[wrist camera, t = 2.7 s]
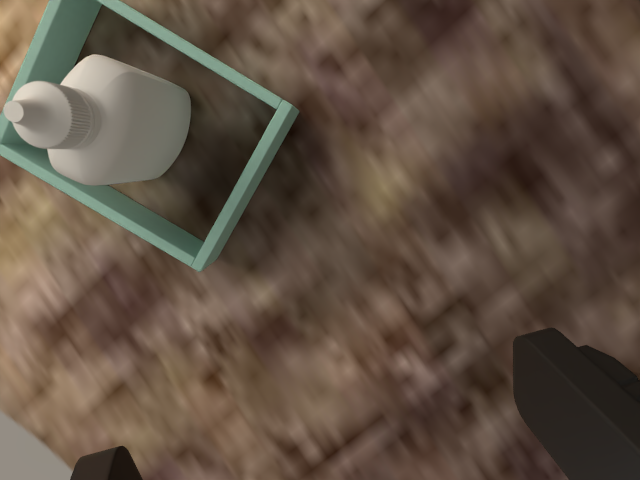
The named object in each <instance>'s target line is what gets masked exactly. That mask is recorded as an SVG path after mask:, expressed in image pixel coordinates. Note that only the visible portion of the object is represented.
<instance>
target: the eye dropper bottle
mask: <svg viewBox="0 0 640 480" xmlns="http://www.w3.org/2000/svg"><path fill="white" fill-rule="evenodd" d="M4 115H5V117H6V118H7V119H8V120H9V121H11V122H12V123H13V126H14V128H15V130H16V132H17V133H18V134H19V136H20V137H21V138H23V140H24V141H26V142H27V143H29V144H30V145H32V146H35V147H38V148H42V149H47V150H48V155H49V159H50V163H51V165H52V167H53V168H54V169H55V170H56V171H57V172H58V173H60V174H62V175H63V176H66V177H68V178H70V179H72V180H74V181H76V182H79V183H82V184H84V185H92V186H98V185H110V184H119V183H128V182H136V181H144V180H152V179H156V178H158V177H160V176H161V175H162V174H164V173H165V172H166V171H167V170H168V168H169V167H170V166H171V165H172V164H173V162H174V161H175V160H176V158H177V157H178V155H179V153H180V152H181V150H182V148H183V145H184V143H185V140H186V137H187V134H188V130H189V125H190V118H191V100H190V96H189V94H188V92H187V91H186V90H185V89H184V88H182V87H180V86H178V85H176V84H174V83H171V82H169V81H167V80H165V79H163V78H160V77H158V76H155V75H153V74H150V73H148V72H145V71H143V70H140V69H138V68H135V67H132V66H130V65H127V64H125V63H122V62H120V61H117V60H114V59H112V58H109V57H106V56H103V55H95V54H93V55H90V56H88V57H86V58H84V59H83V60H82V61H80V62H79V63H78V64H77V65H76V66H75V67H74V68H73V69H72V70H71V71H70V72H69V73H68V74H67V76H66V77H65V78H64V80H63V81H62V82H61V84H60V85H59V84H55V83H51V82H47V81H34V82H32V81H31V82H30V83H27V84H25V85H24V86H22V87H21V88H20V89H19V90H18V91H17V92H16V93H15V95H14V97H13V99H12V101H9V102H7V103H6V104H5V106H4Z"/></svg>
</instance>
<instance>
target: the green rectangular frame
mask: <svg viewBox="0 0 640 480" xmlns="http://www.w3.org/2000/svg"><path fill="white" fill-rule="evenodd" d="M102 4H103V5H104V6H106V7H108V8H109V9H111V10H113V11H114V12H116V13H118V14H119V15H121V16H123V17H124V18H126V19H128V20H129V21H131V22H132V23H134V24H136V25H137V26H139V27H141V28H142V29H144V30H146V31H147V32H149V33H151V34H152V35H154V36H156V37H157V38H159V39H161V40H162V41H164V42H166V43H167V44H169V45H171V46H172V47H174V48H176V49H177V50H179V51H180V52H182V53H184V54H185V55H187V56H189V57H190V58H192V59H194V60H195V61H197V62H199V63H200V64H202V65H204V66H205V67H207V68H209V69H210V70H212V71H214V72H215V73H217V74H219V75H220V76H222V77H224V78H225V79H227V80H229V81H230V82H232V83H233V84H235V85H237V86H238V87H240V88H242V89H243V90H245V91H247V92H248V93H250V94H252V95H253V96H255V97H257V98H258V99H260V100H262V101H263V102H265V103H267V104H268V105H270V106H272V107H273V108H275V109H277V111H276V113H275V114H274V116H273V118H272V120H271V122H270V123H269V125H268V127H267V129H266V131H265V133H264V134H263V136H262V138H261V140H260V142H259V143H258V145H257V147H256V149H255V151H254V153H253V154H252V156H251V158H250V160H249V162H248V164H247V165H246V167H245V169H244V171H243V173H242V174H241V176H240V178H239V180H238V182H237V184H236V185H235V187H234V189H233V191H232V193H231V195H230V196H229V198H228V200H227V202H226V204H225V205H224V207H223V209H222V211H221V213H220V215H219V216H218V218H217V220H216V222H215V224H214V225H213V227H212V229H211V231H210V233H209V235H208V236H207V238H206V240H205V242H203V241H202V240H200V239H198V238H196V237H195V236H193V235H191V234H190V233H188V232H186V231H185V230H183V229H181V228H180V227H178V226H176V225H174V224H173V223H171V222H169V221H168V220H166V219H164V218H163V217H161V216H159V215H157V214H156V213H154V212H152V211H151V210H149V209H147V208H146V207H144V206H142V205H141V204H139V203H137V202H135V201H134V200H132V199H130V198H129V197H127V196H125V195H124V194H122V193H120V192H118V191H117V190H115V189H113V188H112V187H110V186H108V185H98V186H92V185H84V184H82V183H79V182H76V181H74V180H72V179H70V178H68V177H66V176H63V175H62V174H60V173H58V172H57V171H56V170H55V169H54V168H53V167H52V165H51V163H50V159H49V155H48V150H47V149H42V148H38V147H35V146H32V145H30V144H29V143H27V142H26V141H24V140H23V138H21V137H20V136H19V134H18V133H17V132H16V130H15V128H14V126H13V123H12V122H11V121H9V120H8V119H7V118H6V117H5V115H4V108H3V111H2V113H1V115H0V155H1V156H3V157H4V158H6V159H8V160H10V161H11V162H13V163H15V164H16V165H18V166H20V167H21V168H23V169H25V170H27V171H28V172H30V173H32V174H33V175H35V176H37V177H38V178H40V179H42V180H44V181H45V182H47V183H49V184H50V185H52V186H54V187H56V188H57V189H59V190H61V191H62V192H64V193H66V194H67V195H69V196H71V197H73V198H74V199H76V200H78V201H79V202H81V203H83V204H84V205H86V206H88V207H90V208H91V209H93V210H95V211H96V212H98V213H100V214H102V215H103V216H105V217H107V218H108V219H110V220H112V221H113V222H115V223H117V224H119V225H120V226H122V227H124V228H125V229H127V230H129V231H130V232H132V233H134V234H136V235H137V236H139V237H141V238H142V239H144V240H146V241H148V242H149V243H151V244H153V245H154V246H156V247H158V248H159V249H161V250H163V251H165V252H166V253H168V254H170V255H171V256H173V257H175V258H176V259H178V260H180V261H182V262H183V263H185V264H187V265H188V266H191V267H192V268H193V269H195V270H197V271H198V272H201V271H202V270H204V269H205V268H206V267H207V266H209V265H210V264H211V263H213V262H214V261H215V260H217V258H218V256H219V255H220V253H221V251H222V249H223V247H224V246H225V244H226V242H227V240H228V238H229V237H230V235H231V233H232V231H233V230H234V228H235V226H236V224H237V222H238V221H239V219H240V217H241V215H242V213H243V212H244V210H245V208H246V206H247V205H248V203H249V201H250V199H251V197H252V196H253V194H254V192H255V190H256V188H257V187H258V185H259V183H260V181H261V179H262V178H263V176H264V174H265V172H266V171H267V169H268V167H269V165H270V163H271V162H272V160H273V158H274V156H275V154H276V153H277V151H278V149H279V147H280V146H281V144H282V142H283V140H284V138H285V137H286V135H287V133H288V131H289V129H290V128H291V126H292V124H293V122H294V121H295V119H296V117H297V115H298V113H299V110H298V109H297V108H295V107H294V106H293V105H292V104H290V103H288V102H287V101H285V100H283V99H282V98H280V97H278V96H277V95H275V94H273V93H272V92H270V91H269V90H267V89H265V88H264V87H262V86H260V85H259V84H257V83H255V82H254V81H252V80H250V79H249V78H247V77H245V76H244V75H242V74H240V73H239V72H237V71H235V70H234V69H232V68H231V67H229V66H227V65H226V64H224V63H222V62H221V61H219V60H217V59H216V58H214V57H212V56H211V55H209V54H207V53H206V52H204V51H202V50H201V49H199V48H197V47H196V46H194V45H192V44H191V43H189V42H188V41H186V40H184V39H183V38H181V37H179V36H178V35H176V34H174V33H173V32H171V31H169V30H168V29H166V28H164V27H163V26H161V25H159V24H158V23H156V22H154V21H153V20H151V19H150V18H148V17H146V16H145V15H143V14H141V13H140V12H138V11H136V10H135V9H133V8H131V7H130V6H128V5H126V4H125V3H123V2H121V1H120V0H49V2H48V5H47V7H46V9H45V12H44V14H43V16H42V19H41V21H40V23H39V26H38V28H37V31H36V33H35V35H34V38H33V40H32V42H31V45H30V47H29V49H28V52H27V54H26V56H25V59H24V61H23V63H22V66H21V68H20V71H19V73H18V75H17V78H16V80H15V82H14V85H13V87H12V89H11V92H10V94H9V96H8V99H7V101H6V103H7V102H9V101H12V99H13V97H14V95H15V93H16V92H17V91H18V90H19V89H20V88H21V87H22V86H24V85H25V84H27V83H30V82H31V81H32V82H34V81H47V82H51V83H55V84H59V85H60V84H61V82H62V81H63V80H64V78H65V77H66V76H67V74H68V73H69V72H70V71H71V70H72V69H73V68H74V65H75V63H76V61H77V59H78V57H79V54H80V52H81V50H82V48H83V45H84V43H85V41H86V39H87V36H88V34H89V32H90V30H91V28H92V25H93V23H94V21H95V19H96V16H97V14H98V12H99V10H100V7H101V5H102ZM6 103H5V104H6Z"/></svg>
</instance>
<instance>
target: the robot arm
mask: <svg viewBox="0 0 640 480" xmlns="http://www.w3.org/2000/svg"><path fill="white" fill-rule="evenodd" d="M513 391H514V398H515V402H516V405H517V408H518V410H519V413H520V415H521V417H522V418H523V420H524V422H525V423H526V424H527V426H528V427H529V428H530V430H531V431H532V432H533V433H534V435H535V436H536V437H537V439H538V440H539V441H540V442H541V444H542V445H543V446H544V448H545V449H546V450H547V451H548V453H549V454H550V455H551V457H552V458H553V459H554V460H555V462H556V463H557V464H558V466H559V467H560V468H561V469H562V471H563V472H564V473H565V475H566V476H567V477H568V478H569V480H640V381H639V380H638V378H637V376H636V375H635V374H633V373H632V372H631V371H630V370H628V369H627V368H626V367H625V366H624V365H622V364H621V363H620V362H619V361H618V360H616V359H615V358H613V357H611V356H609V355H607V354H605V353H602V352H600V351H598V350H596V349H594V348H592V347H589V346H587V345H585V346H581V347H576V346H575V345H574V344H573V343H572V342H571V341H570V340H569V339H567V338H566V337H565V336H564V335H563V334H562V333H561V332H559V331H558V330H556V329H555V328H547V329H543V330H539V331H536V332H532V333H528V334H525V335H521V336H517V337H516V338H515V339H514V342H513ZM70 480H143V479H142V477H141V475H140V473H139V471H138V469H137V467H136V465H135V463H134V461H133V459H132V457H131V455H130V453H129V451H128V450H127V448H125V447H124V446H119V447H115V448H112V449H108V450H104V451H101V452H97V453H93V454H90V455H86V456H83V457H81V458H80V459H79V460H78V461H77V463H76V465H75V468H74V471H73V473H72V476H71V479H70Z"/></svg>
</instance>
